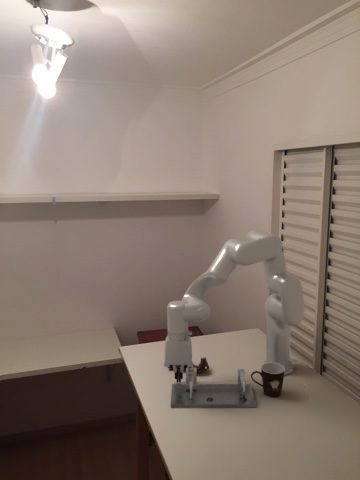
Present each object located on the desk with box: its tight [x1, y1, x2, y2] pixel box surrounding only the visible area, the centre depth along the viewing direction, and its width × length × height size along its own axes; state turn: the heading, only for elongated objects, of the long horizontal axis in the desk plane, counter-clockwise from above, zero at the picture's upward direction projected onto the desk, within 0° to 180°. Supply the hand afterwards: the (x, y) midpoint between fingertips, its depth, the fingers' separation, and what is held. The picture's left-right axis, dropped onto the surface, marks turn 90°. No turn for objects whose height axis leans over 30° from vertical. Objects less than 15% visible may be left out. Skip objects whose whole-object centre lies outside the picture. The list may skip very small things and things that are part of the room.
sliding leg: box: [185, 366, 198, 399], centre depth 155 cm, size 4×10×8 cm, turn 178°
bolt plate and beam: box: [170, 368, 257, 409], centre depth 154 cm, size 30×14×8 cm, turn 88°
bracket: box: [167, 356, 210, 373], centre depth 175 cm, size 6×17×10 cm, turn 75°
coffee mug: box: [250, 362, 285, 399], centre depth 157 cm, size 12×9×10 cm
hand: (178, 380), depth 159 cm, fingers closed
